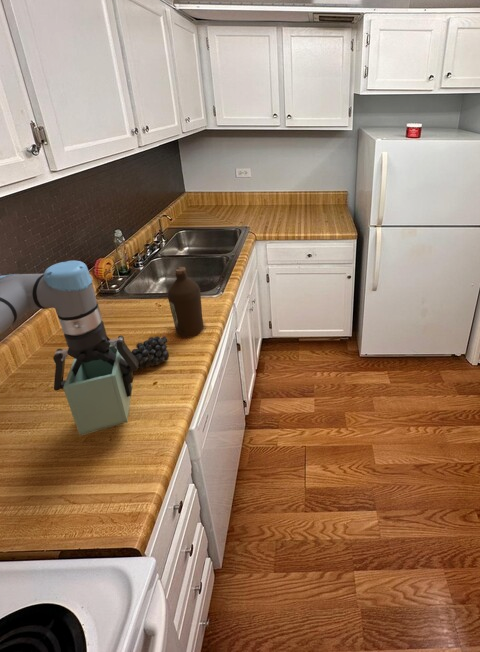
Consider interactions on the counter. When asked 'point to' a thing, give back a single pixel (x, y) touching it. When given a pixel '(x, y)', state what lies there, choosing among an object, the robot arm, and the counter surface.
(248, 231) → the counter surface
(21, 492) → the counter surface
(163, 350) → the fruit
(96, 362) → the open box
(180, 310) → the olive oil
